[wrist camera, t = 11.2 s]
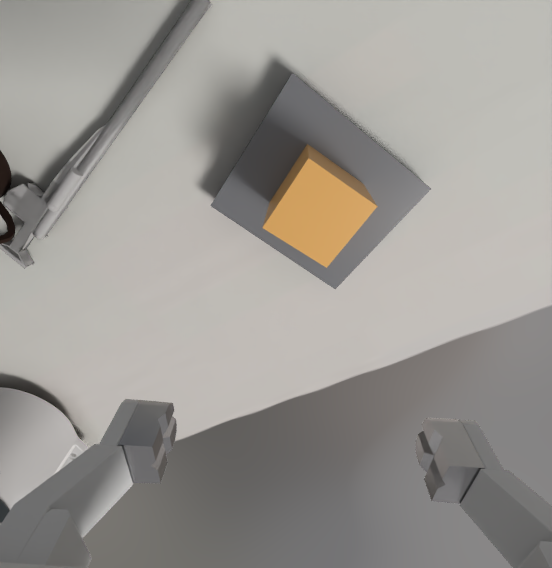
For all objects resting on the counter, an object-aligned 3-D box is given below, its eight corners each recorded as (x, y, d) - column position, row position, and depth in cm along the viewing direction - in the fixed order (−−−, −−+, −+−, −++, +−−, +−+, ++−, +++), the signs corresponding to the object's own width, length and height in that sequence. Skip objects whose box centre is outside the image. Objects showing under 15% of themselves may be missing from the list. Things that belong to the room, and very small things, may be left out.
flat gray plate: (333, 279, 35) (339, 316, 29) (215, 199, 31) (196, 223, 26) (423, 182, 30) (452, 205, 24) (293, 73, 26) (290, 70, 20)
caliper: (6, 229, 36) (37, 266, 36) (-20, 232, 33) (14, 271, 33) (176, -39, 25) (221, 15, 25) (155, -62, 22) (205, -3, 22)
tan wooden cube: (322, 236, 30) (326, 267, 25) (269, 202, 29) (262, 227, 24) (363, 183, 28) (377, 206, 23) (307, 143, 27) (308, 158, 22)
